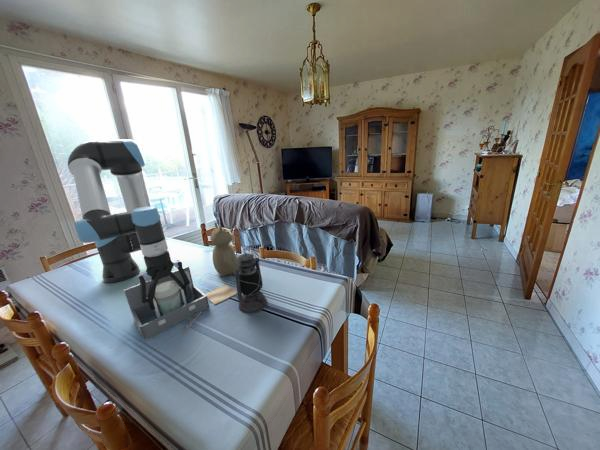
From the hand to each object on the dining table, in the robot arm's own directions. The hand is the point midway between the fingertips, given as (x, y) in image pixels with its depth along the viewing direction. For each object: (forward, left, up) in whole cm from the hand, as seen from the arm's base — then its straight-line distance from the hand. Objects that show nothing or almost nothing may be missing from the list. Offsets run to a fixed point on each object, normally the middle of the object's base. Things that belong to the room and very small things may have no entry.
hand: (171, 309), depth 90 cm
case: (0, 0, -2) cm, 2 cm away
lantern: (+18, +23, -3) cm, 29 cm away
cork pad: (+2, +18, -2) cm, 18 cm away
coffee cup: (0, 0, -3) cm, 3 cm away
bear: (-12, +32, -3) cm, 34 cm away
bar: (+10, +3, -3) cm, 11 cm away
